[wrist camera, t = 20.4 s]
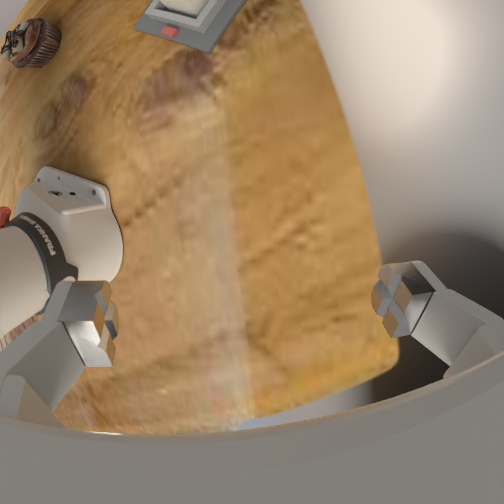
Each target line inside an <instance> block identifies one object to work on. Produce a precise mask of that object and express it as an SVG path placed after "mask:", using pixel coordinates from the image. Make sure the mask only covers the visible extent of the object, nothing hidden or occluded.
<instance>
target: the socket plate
mask: <svg viewBox="0 0 504 504" xmlns="http://www.w3.org/2000/svg"><path fill="white" fill-rule="evenodd" d="M246 1H247V0H209V2H208V3H207V4H206V6H205V7H204V9H203V10H202V11H201V13H200V14H199V16H198V17H195V16H192V15H188V14H185V13H181V12H177V11H173V10H170V9H168V8H167V7H166V6H165V5H164V4H163V3H162V2H161V1H160V0H152V1H151V2H150V4H149V5H148V7H147V8H146V10H145V11H144V13H143V14H142V16H141V17H140V19H139V20H138V22H137V24H136V25H135V27H134V28H133V29H134V30H136V31H139V32H143V33H147V34H150V35H154V36H157V37H160V38H164V39H167V40H170V41H173V42H176V43H179V44H182V45H185V46H188V47H191V48H194V49H197V50H200V51H202V52H205V53H208V54H211V52H212V50H213V49H214V47H215V46H216V44H217V43H218V41H219V40H220V38H221V37H222V35H223V34H224V32H225V31H226V29H227V28H228V26H229V25H230V23H231V22H232V20H233V19H234V17H235V16H236V15H237V13H238V12H239V10H240V9H241V8H242V6H243V5H244V3H245V2H246Z"/></svg>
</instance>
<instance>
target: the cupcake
mask: <svg viewBox="0 0 504 504" xmlns="http://www.w3.org/2000/svg"><path fill="white" fill-rule="evenodd" d="M7 39H8V42H9V43H8V45H6V46H5V44H6V42H7ZM60 41H61V32H60V30H59V29H57V28H56V27H54V26H53V25H51V24H50V23H49V22H47V21H46V20H45V19H43V18H37V19H29V20H27V21H25V20H24V21H21V23H20V24H19V25H18V27H16V29H15V30H13V31H8V32H7V34H6V41H5V44H4V46H3V47H2V49H1V52H0V53H1V55H2V59H8V61H9V62H12V63H13V64H14V66H15V67H16V68H18V69H23V68H29V67H40V68H41V67H42V66H44V65H46V64H47V63H49V62H50V60H52V58H53V57H54V56H55V54H56V52H57V50H58V48H59V46H60Z"/></svg>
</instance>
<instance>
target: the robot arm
mask: <svg viewBox="0 0 504 504" xmlns="http://www.w3.org/2000/svg"><path fill="white" fill-rule="evenodd" d="M94 191H96V194H95V193H94ZM10 214H11V209H10V208H8V207H5V206H3V207H1V208H0V338H2V337H3V336H4V335H5V334H7V333H8V332H9V331H11V330H12V329H14V328H15V327H17V326H18V325H19V324H21V323H22V322H24V321H25V320H27V319H28V318H30V317H31V316H33V315H40V314H42V313H44V314H43V317H42V319H41V321H36V322H35V323H33V324H32V325H31V326H30V327H29V328H27V329H26V330H25V331H24V332H23V333H22V334H20V335H19V336H18V337H17V338H16V339H15V340H13V341H12V342H11V343H10V344H9V345H8V346H7V347H6V348H4V349H3V350H2V351H1V352H0V504H504V321H503V319H502V318H501V317H499V316H497V315H496V314H494V313H492V312H491V311H489V310H487V309H485V308H484V307H482V306H480V305H478V304H476V303H475V302H473V301H471V300H469V299H467V298H466V297H464V296H462V295H460V294H458V293H457V292H455V291H453V290H451V289H449V290H447V288H446V287H445V286H444V285H443V284H442V283H441V281H440V280H439V279H438V278H437V277H436V276H435V275H434V274H433V273H432V271H431V270H430V269H429V268H428V267H427V266H426V265H425V264H424V262H421V261H412V262H407V263H395V264H384V265H383V266H382V267H381V268H380V270H379V273H378V277H379V279H380V280H379V281H378V282H377V283H376V284H375V285H374V287H373V290H372V293H371V303H372V306H373V309H374V310H375V312H376V314H378V315H379V316H381V317H383V323H382V324H383V325H384V327H385V329H386V330H387V332H388V333H389V335H390V337H391V338H395V337H400V336H404V335H409V334H412V336H413V337H414V338H415V339H417V340H418V341H419V342H420V343H422V344H423V345H424V346H426V347H427V348H428V349H429V350H431V351H432V352H433V353H434V354H436V355H437V356H438V357H439V358H441V359H442V360H443V361H444V362H446V363H447V364H448V365H449V366H450V368H449V369H448V370H447V371H446V373H445V374H444V377H443V378H444V379H442V380H440V381H437V382H435V383H432V384H430V385H427V386H425V387H422V388H419V389H416V390H414V391H411V392H408V393H405V394H403V395H399V396H396V397H393V398H390V399H387V400H384V401H381V402H377V403H374V404H370V405H367V406H363V407H360V408H356V409H352V410H349V411H345V412H341V413H336V414H332V415H328V416H323V417H319V418H314V419H310V420H304V421H299V422H293V423H288V424H282V425H276V426H269V427H262V428H255V429H246V430H237V431H227V432H215V433H199V434H168V435H152V434H122V433H106V432H95V431H85V430H76V429H69V428H66V426H65V425H64V423H63V422H62V421H61V420H60V419H59V418H58V417H57V416H56V415H55V414H54V413H53V411H54V409H55V408H56V406H57V405H58V404H59V402H60V401H61V400H62V398H63V397H64V396H65V394H66V393H67V392H68V390H69V389H70V388H71V386H72V385H73V384H74V382H75V381H76V380H77V378H78V377H79V376H80V375H81V373H82V372H83V371H84V369H85V366H99V367H112V366H113V360H114V354H115V345H114V343H113V340H114V339H115V338H116V337H117V336H118V329H119V317H118V311H117V307H116V304H115V303H114V302H113V301H112V300H111V299H110V298H111V294H112V290H111V287H110V284H109V282H110V281H112V280H113V279H114V278H115V276H116V275H117V273H118V271H119V269H120V266H121V262H122V256H123V243H122V237H121V232H120V229H119V226H118V224H117V221H116V219H115V217H114V215H113V213H112V210H111V204H110V196H109V191H108V189H107V188H106V187H105V186H104V185H101V184H98V183H95V182H93V181H90V180H87V179H84V178H81V177H79V176H76V175H73V174H70V173H67V172H64V171H62V170H59V169H56V168H53V167H50V166H45V167H43V168H42V169H41V170H40V171H39V172H38V174H37V176H36V177H35V179H34V182H33V183H31V184H29V185H27V186H26V187H25V188H24V189H23V190H22V191H21V193H20V195H19V198H18V200H17V203H16V207H15V212H14V217H13V219H12V220H11V221H10V222H9V217H10Z"/></svg>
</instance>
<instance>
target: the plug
mask: <svg viewBox="0 0 504 504" xmlns="http://www.w3.org/2000/svg"><path fill="white" fill-rule="evenodd" d="M160 1H161V2H162V3H163V4H164V5H165V6H166V7H167V8H168V9H170V10H173V11H177V12H181V13H185V14H188V15H192V16H195V17H198V16H199V14H200V13H201V11H202V10H203V9H204V7H205V6H206V4H207V3H208V2H209V0H160Z"/></svg>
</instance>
